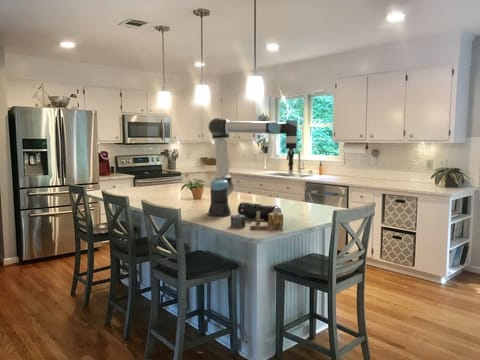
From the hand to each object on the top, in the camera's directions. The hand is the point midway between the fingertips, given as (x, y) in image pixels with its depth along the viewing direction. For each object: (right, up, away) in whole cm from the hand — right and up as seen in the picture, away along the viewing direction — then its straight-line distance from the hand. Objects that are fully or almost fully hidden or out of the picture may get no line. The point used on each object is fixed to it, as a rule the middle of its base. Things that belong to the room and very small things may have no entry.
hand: (290, 174), depth 266 cm
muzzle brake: (-22, -29, -19) cm, 42 cm away
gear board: (-19, -31, -41) cm, 55 cm away
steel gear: (-35, -31, -37) cm, 60 cm away
